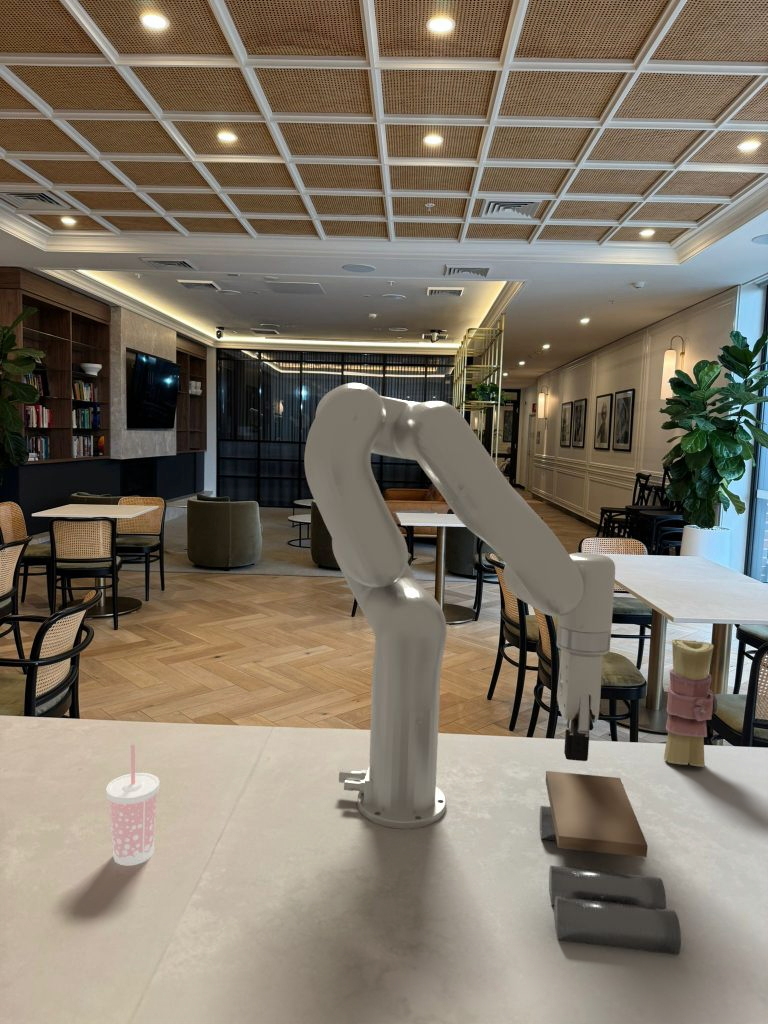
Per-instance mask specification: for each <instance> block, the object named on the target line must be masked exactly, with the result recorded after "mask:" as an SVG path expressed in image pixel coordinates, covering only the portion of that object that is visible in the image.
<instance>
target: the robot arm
mask: <svg viewBox="0 0 768 1024" xmlns="http://www.w3.org/2000/svg"><path fill="white" fill-rule="evenodd" d="M305 443H306V444H305V450H304V458H303V459H304V460H303V461H304V472H305V477H306V481H307V485H308V487H309V490H310V493H311V495H312V497H313V500H314V502H315V505H316V506H317V508H318V511H319V513H320V515H321V517H322V520H323V522H324V524H325V526H326V529H327V531H328V532H329V534H330V537H331V546H332V547H331V549H332V552H333V555H334V558H335V560H336V563H337V565H338V567H339V568H340V571H341V572H342V575H343V577H344V578H345V581H346V582H347V584H348V587H349V589H350V591H351V593H352V594H353V596H354V599H355V600H356V602H357V605H358V606H359V608H360V610H361V612H362V614H363V616H364V618H365V619H366V622H367V623H368V625H369V627H370V628H371V630H372V632H373V633H374V639H375V642H374V643H375V645H374V646H375V648H374V649H375V650H374V657H373V663H372V673H371V690H370V691H371V692H370V698H371V701H370V702H371V703H370V704H371V705H370V707H371V709H370V735H369V736H370V737H369V738H370V739H369V766H368V768H362V769H361V770H354V769H350V768H340V770H339V773H338V782H339V783H340V784H341V783H342V784H343V790H344V791H350V792H353V791H354V792H358V794H357V803H356V804H357V808H358V810H359V812H360V813H361V814H362V815H363V817H365V818H366V819H368V820H369V821H371V822H372V823H373V824H377V825H380V826H384V827H387V828H391V829H392V828H393V829H400V830H402V829H406V830H409V829H410V830H412V829H418V828H422V827H423V828H424V827H426V826H430V825H432V824H434V823H436V822H438V821H439V820H440V819H441V818H442V817H444V814H445V812H446V809H447V798H446V795H445V793H443V791H442V790H441V789H440V788H439V787H438V786H437V770H438V769H437V765H438V742H439V721H440V720H439V719H440V718H439V717H440V687H441V677H442V675H441V673H442V665H443V658H444V653H445V647H446V642H447V630H448V629H447V622H446V616H445V613H444V611H443V609H442V606H440V604H439V602H438V601H437V599H436V598H435V597H434V596H433V595H432V594H431V593H429V592H428V590H426V589H425V588H423V586H421V585H420V584H419V582H418V581H417V579H416V576H415V575H414V573H413V571H412V568H411V566H410V565H409V563H408V560H409V551H408V545H407V542H406V539H405V537H404V535H403V533H402V531H401V530H400V527H398V524H397V523H396V521H395V519H394V517H393V515H392V513H391V511H390V508H389V507H388V505H387V503H386V500H385V498H384V497H383V494H382V493H381V490H380V487H379V484H378V483H377V481H376V479H375V476H374V472H373V469H372V463H371V460H372V459H371V458H372V457H371V456H372V454H375V455H379V456H385V457H386V456H387V457H391V458H392V457H393V458H399V459H406V460H410V461H411V460H412V461H417V463H418V464H419V466H420V468H421V469H422V470H423V471H424V473H425V474H426V476H427V477H428V479H430V481H431V482H432V484H433V485H434V486H435V487H436V489H437V491H438V492H439V494H441V496H442V498H443V499H444V500H445V502H446V503H447V505H448V506H449V507H450V509H451V510H452V512H453V513H454V515H455V516H456V518H457V519H458V520H459V522H461V523H462V524H463V525H464V527H466V528H467V529H468V531H470V532H471V533H472V534H474V535H475V536H477V537H478V538H479V539H480V540H482V542H484V543H486V544H487V545H488V546H489V547H490V548H491V549H492V550H493V551H494V552H495V553H496V555H498V556H499V557H500V558H501V559H502V560H503V561H504V562H505V566H504V568H503V576H502V577H503V581H504V584H505V587H506V588H507V590H508V591H509V592H510V593H511V595H513V596H514V597H516V598H517V599H519V600H521V602H524V603H525V604H527V605H529V606H531V607H532V608H535V609H536V610H537V611H538V612H540V613H542V614H544V615H547V616H551V617H557V633H556V647H557V648H558V649H560V650H561V652H560V653H561V654H560V660H559V669H558V670H559V671H558V680H557V681H558V682H557V689H556V691H557V693H556V701H557V705H558V708H559V711H560V714H561V716H562V718H563V719H564V720H565V722H566V729H565V735H564V736H565V737H564V751H563V752H564V753H563V754H564V755H565V759H566V760H567V761H577V762H578V761H580V762H587V761H588V759H589V746H590V729H591V728H590V726H591V721H592V723H597V722H598V720H599V715H600V707H601V693H602V691H601V689H602V671H603V656H604V655H607V654H610V652H611V640H612V639H611V637H612V626H613V624H612V623H613V610H614V595H615V580H616V565H615V561H614V560H613V559H611V557H609V556H607V555H604V554H597V553H591V552H590V553H587V552H573V553H569V552H568V551H567V550H566V548H565V547H564V545H563V544H562V542H561V541H560V540H559V538H558V537H557V536H556V534H555V532H553V530H552V529H551V528H550V527H549V526H548V525H547V523H546V522H545V521H544V520H543V519H542V518H541V516H540V515H539V514H537V512H535V510H534V509H533V508H532V507H531V506H530V505H529V503H527V501H526V500H525V499H524V497H522V495H521V494H519V493H518V492H517V491H516V489H515V488H514V487H513V486H512V485H511V484H510V483H509V481H508V479H507V478H506V477H505V475H504V474H503V473H502V471H501V470H500V468H499V467H498V465H497V464H496V463H495V461H494V460H493V458H492V456H490V453H489V452H488V451H487V449H486V448H485V446H484V445H483V444H482V442H481V440H480V438H478V436H477V434H476V433H475V432H474V430H473V429H472V427H471V426H470V424H469V423H468V422H467V420H466V419H465V417H464V415H462V413H461V412H460V411H459V410H458V409H457V408H456V407H455V406H453V405H451V404H450V403H449V402H445V401H441V400H429V401H424V402H420V401H419V402H418V401H410V400H409V401H408V400H404V399H403V400H402V399H399V398H393V397H387V396H382V395H379V393H378V392H377V391H376V390H374V388H372V387H370V386H369V385H366V384H364V383H360V382H359V383H358V382H348V383H345V384H341V385H339V386H337V387H335V388H333V389H332V390H330V391H328V392H327V393H325V394H324V395H323V396H322V398H321V399H320V400H319V403H318V404H317V407H316V411H315V418H314V419H313V422H312V423H311V426H310V428H309V431H308V435H307V438H306V442H305Z"/></svg>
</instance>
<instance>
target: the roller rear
mask: <svg viewBox="0 0 768 1024" xmlns="http://www.w3.org/2000/svg"><path fill="white" fill-rule="evenodd" d="M539 834H540V839H541V840H548V841H555V842H557V839H556V834H555V828H554V823H553V818H552V813H551V807H550V806H545V805H544V806H543V805H541V806H540V808H539Z"/></svg>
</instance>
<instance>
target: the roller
mask: <svg viewBox="0 0 768 1024" xmlns="http://www.w3.org/2000/svg"><path fill="white" fill-rule="evenodd" d="M553 906H554V910H553V918H554V919H553V920H554V925H555V926H554V927H555V933H556V939H557V940H559V941H568V942H573V943H574V942H575V943H584V944H591V945H599V946H607V947H616V948H617V947H618V948H625V949H632V950H633V949H634V950H639V951H640V950H641V951H649V952H658V953H665V954H674V955H679V954H680V951H681V946H682V938H681V937H682V935H681V926H680V921H679V917H678V914H677V912H676V910H675V909H669V908H668V909H667V908H666V909H662V908H653V907H644V906H635V905H627V904H618V903H609V902H601V901H592V900H583V899H575V898H566V897H557V896H556V898H555V905H553Z"/></svg>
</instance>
